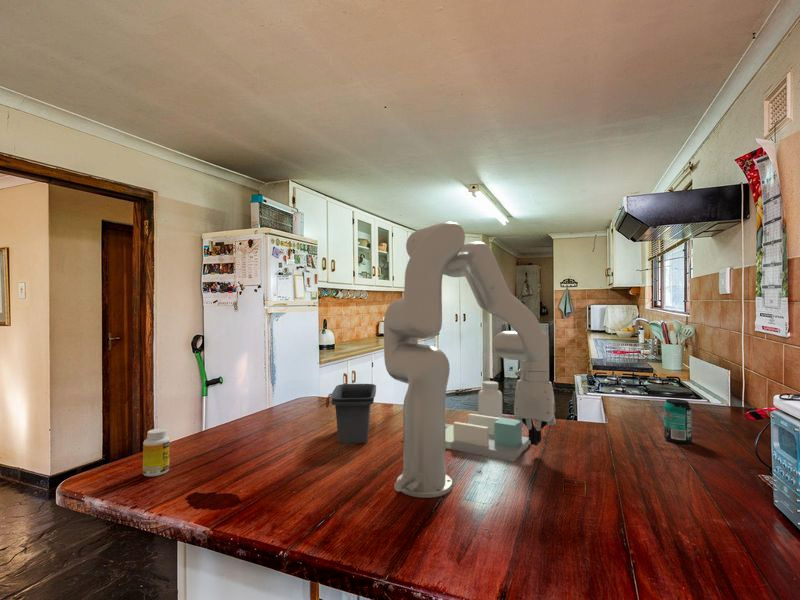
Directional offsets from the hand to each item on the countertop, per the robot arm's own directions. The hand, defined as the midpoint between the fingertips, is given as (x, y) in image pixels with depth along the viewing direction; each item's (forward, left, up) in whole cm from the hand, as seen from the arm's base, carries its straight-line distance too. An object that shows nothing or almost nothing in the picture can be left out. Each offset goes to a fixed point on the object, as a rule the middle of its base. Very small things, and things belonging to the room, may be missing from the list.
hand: (535, 443), depth 111 cm
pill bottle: (+19, +19, -3) cm, 27 cm away
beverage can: (+35, -34, -3) cm, 49 cm away
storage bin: (-13, +53, -3) cm, 55 cm away
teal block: (0, +7, -1) cm, 7 cm away
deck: (0, +20, -3) cm, 21 cm away
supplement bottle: (-61, +75, -3) cm, 97 cm away
